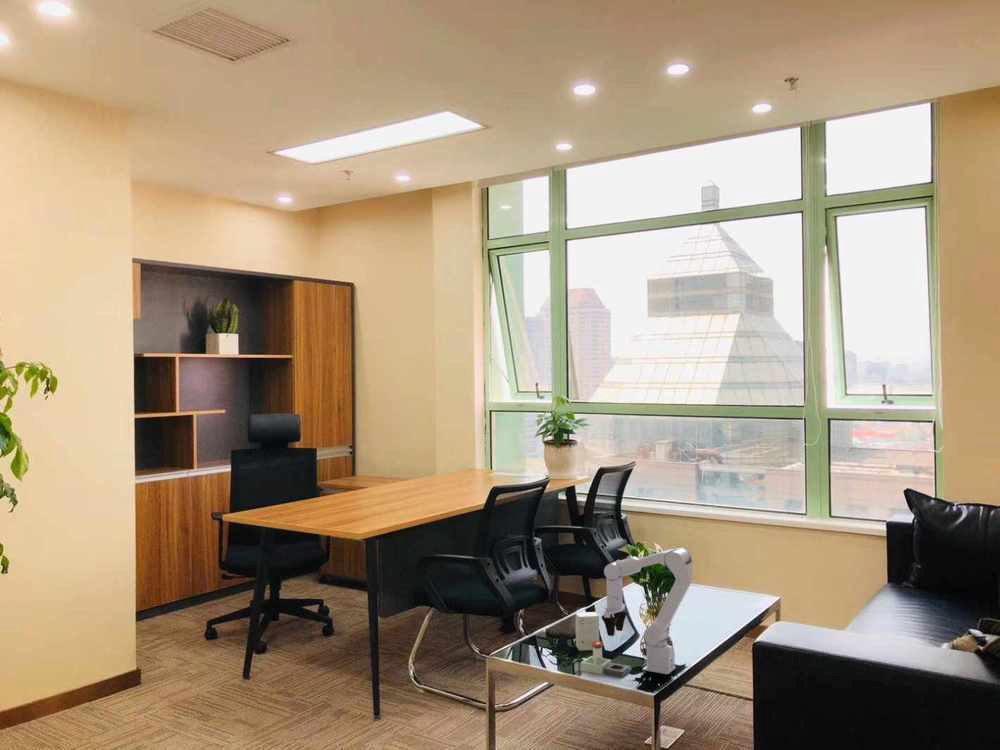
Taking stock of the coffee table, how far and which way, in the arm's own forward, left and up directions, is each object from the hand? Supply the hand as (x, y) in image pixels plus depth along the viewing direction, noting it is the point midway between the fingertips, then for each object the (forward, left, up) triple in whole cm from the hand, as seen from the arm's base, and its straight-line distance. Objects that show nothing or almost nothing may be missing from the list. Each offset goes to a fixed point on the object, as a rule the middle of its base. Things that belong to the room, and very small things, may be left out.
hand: (615, 633), depth 299 cm
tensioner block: (-6, +11, -10) cm, 16 cm away
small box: (+16, -10, -11) cm, 22 cm away
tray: (+2, +11, -10) cm, 15 cm away
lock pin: (+2, +11, -10) cm, 15 cm away
